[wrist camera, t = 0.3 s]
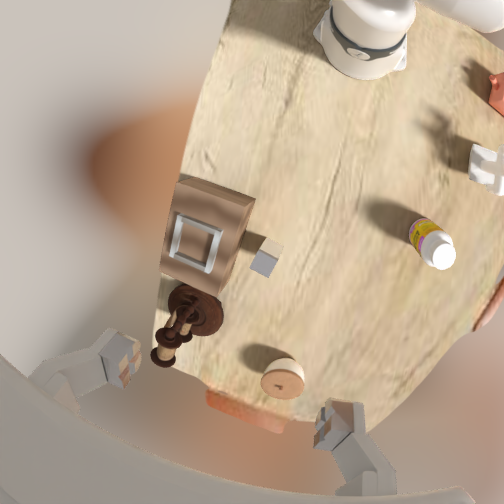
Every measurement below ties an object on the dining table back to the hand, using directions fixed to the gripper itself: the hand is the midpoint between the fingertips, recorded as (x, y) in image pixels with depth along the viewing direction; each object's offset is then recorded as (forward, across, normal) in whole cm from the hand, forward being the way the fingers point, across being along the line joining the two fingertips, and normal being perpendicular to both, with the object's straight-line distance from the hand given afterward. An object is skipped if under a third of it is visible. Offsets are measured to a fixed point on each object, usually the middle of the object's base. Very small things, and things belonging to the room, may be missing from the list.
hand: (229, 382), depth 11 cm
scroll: (+48, +15, +36) cm, 62 cm away
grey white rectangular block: (+47, +1, +15) cm, 49 cm away
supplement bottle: (+46, -28, +2) cm, 54 cm away
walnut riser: (+48, +15, +15) cm, 52 cm away
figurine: (+46, -36, -16) cm, 61 cm away
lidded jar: (+46, -11, +45) cm, 65 cm away
